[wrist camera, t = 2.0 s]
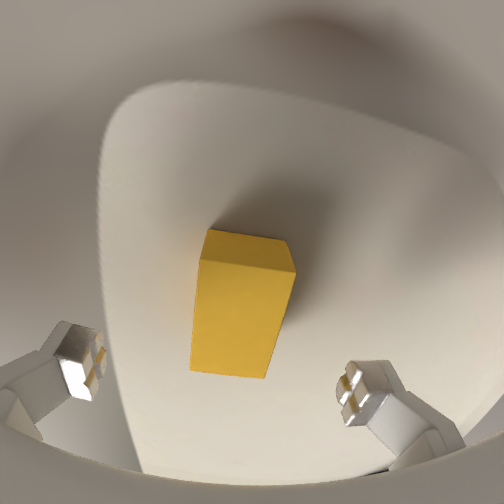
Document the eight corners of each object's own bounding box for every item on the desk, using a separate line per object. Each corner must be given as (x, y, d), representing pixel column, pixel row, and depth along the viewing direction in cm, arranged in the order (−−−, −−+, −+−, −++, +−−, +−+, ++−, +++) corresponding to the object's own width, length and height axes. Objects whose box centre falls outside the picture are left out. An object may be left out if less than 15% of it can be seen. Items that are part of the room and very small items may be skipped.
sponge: (207, 228, 11) (200, 258, 9) (286, 240, 12) (297, 272, 9) (195, 330, 13) (189, 370, 11) (260, 339, 14) (264, 379, 11)
